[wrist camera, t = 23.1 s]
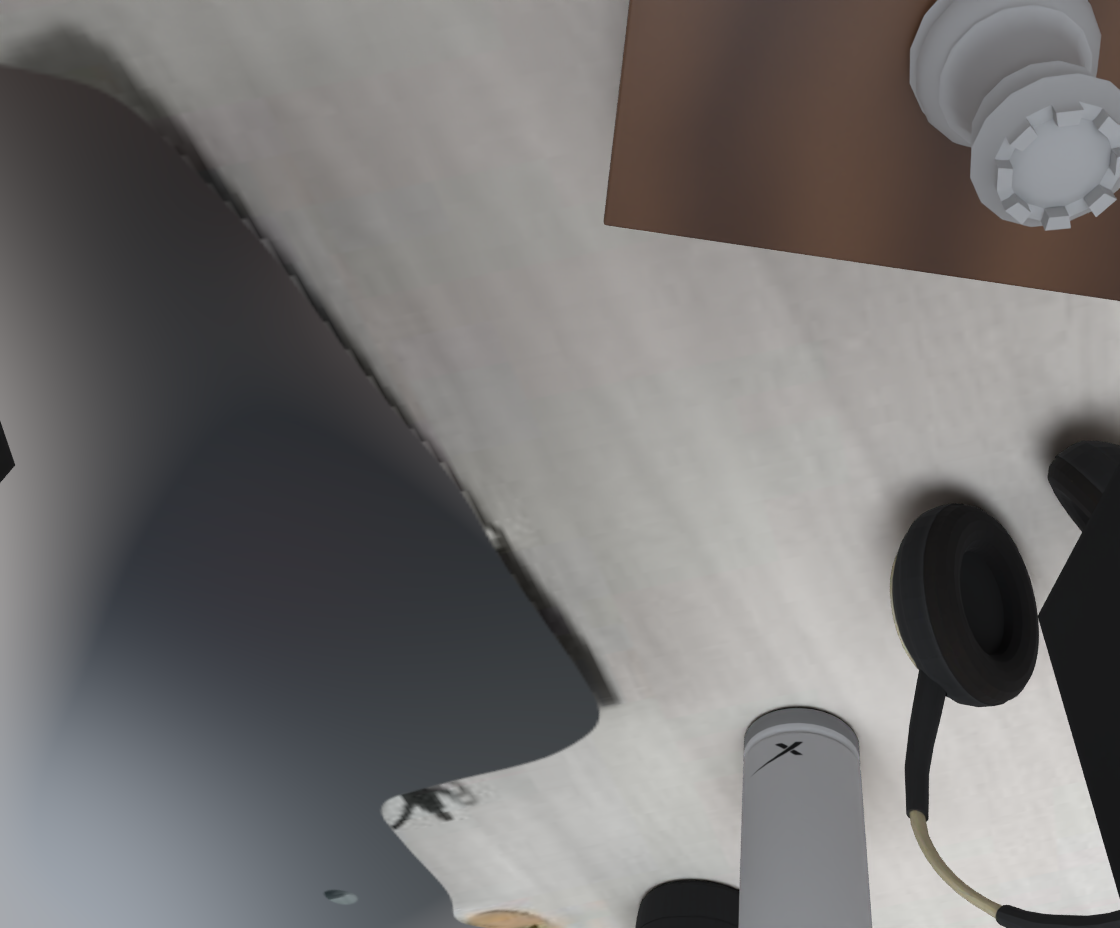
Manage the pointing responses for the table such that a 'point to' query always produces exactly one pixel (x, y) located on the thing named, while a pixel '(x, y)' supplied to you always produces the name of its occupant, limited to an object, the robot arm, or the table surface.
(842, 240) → the chest lid
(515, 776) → the table surface
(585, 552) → the table surface
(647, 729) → the table surface
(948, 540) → the headphones
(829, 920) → the travel mug
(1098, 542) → the robot arm
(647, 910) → the black portable speaker
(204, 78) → the table surface
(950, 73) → the rook chess piece
